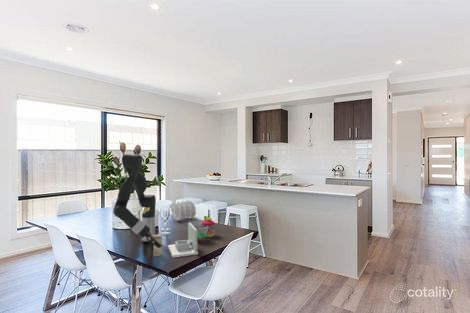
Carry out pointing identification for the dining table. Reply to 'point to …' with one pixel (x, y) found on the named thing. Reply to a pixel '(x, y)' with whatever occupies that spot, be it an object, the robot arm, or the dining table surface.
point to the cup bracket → (185, 244)
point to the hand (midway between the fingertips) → (159, 244)
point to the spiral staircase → (183, 210)
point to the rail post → (156, 250)
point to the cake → (210, 225)
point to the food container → (202, 234)
